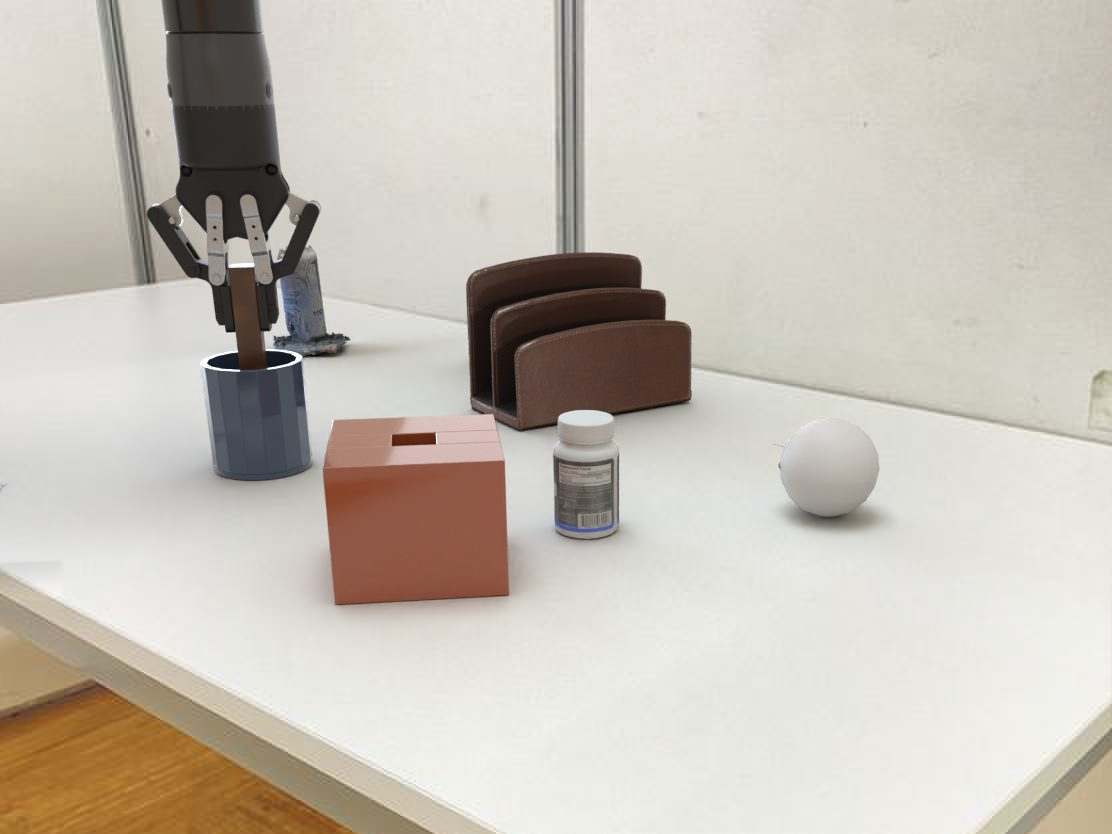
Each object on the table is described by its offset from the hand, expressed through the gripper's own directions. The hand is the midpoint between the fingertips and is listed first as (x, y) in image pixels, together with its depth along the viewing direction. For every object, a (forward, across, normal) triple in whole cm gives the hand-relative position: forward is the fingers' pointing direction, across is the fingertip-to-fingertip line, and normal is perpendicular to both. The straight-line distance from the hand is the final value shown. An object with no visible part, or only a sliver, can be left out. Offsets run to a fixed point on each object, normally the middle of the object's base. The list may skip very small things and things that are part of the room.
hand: (248, 329), depth 101 cm
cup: (+11, 0, 0) cm, 11 cm away
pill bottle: (+12, -25, +19) cm, 34 cm away
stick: (+11, 0, 0) cm, 11 cm away
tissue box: (+11, -13, +25) cm, 30 cm away
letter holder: (+12, -29, -16) cm, 35 cm away
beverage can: (+12, -1, -45) cm, 46 cm away
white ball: (+12, -43, +17) cm, 48 cm away
